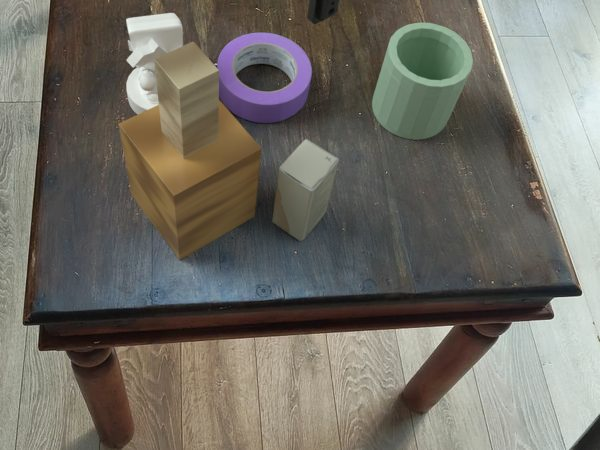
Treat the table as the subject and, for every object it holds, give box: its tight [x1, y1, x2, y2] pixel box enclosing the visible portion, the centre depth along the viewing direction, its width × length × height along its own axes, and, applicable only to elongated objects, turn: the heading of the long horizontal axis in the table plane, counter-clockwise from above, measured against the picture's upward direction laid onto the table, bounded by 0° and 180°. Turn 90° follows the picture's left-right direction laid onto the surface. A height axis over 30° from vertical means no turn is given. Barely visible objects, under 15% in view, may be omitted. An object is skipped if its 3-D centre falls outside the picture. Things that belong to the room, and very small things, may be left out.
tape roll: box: [216, 32, 313, 124], centre depth 88 cm, size 12×12×4 cm
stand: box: [118, 99, 262, 261], centre depth 74 cm, size 10×10×13 cm
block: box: [154, 41, 220, 159], centre depth 64 cm, size 4×4×10 cm
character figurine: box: [125, 12, 184, 115], centre depth 82 cm, size 9×10×12 cm
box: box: [271, 138, 340, 242], centre depth 76 cm, size 5×4×11 cm
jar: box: [371, 22, 474, 141], centre depth 86 cm, size 10×10×10 cm
